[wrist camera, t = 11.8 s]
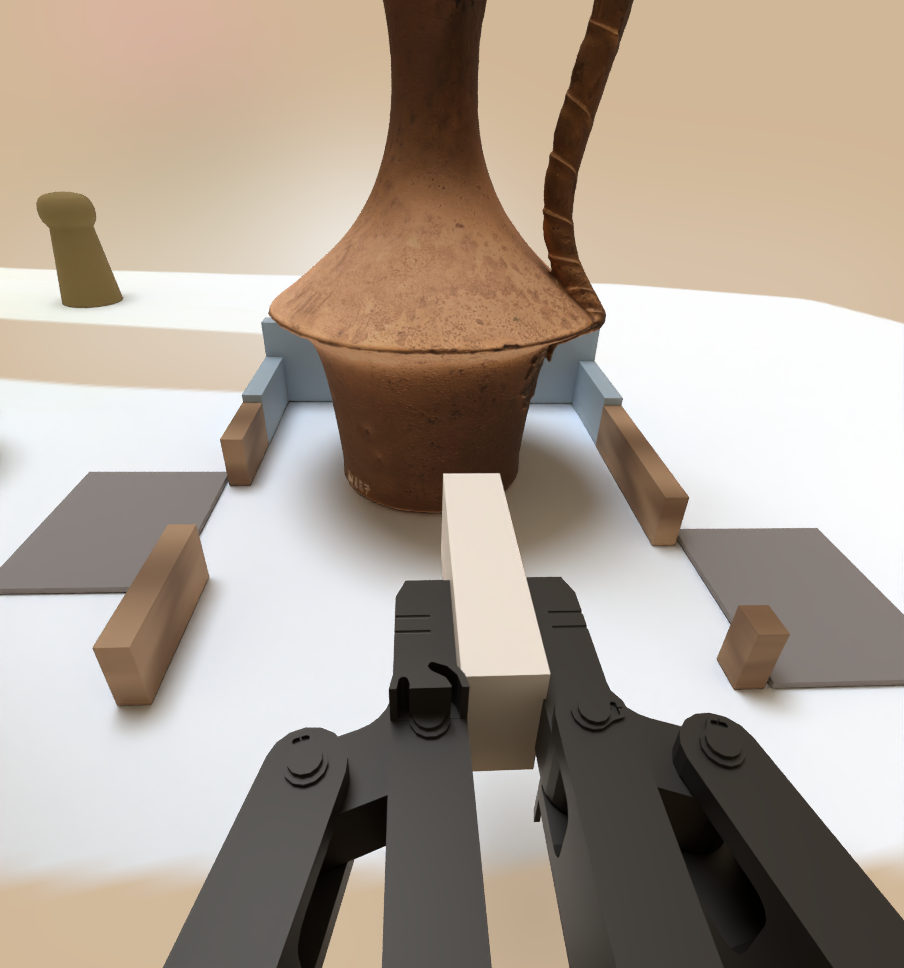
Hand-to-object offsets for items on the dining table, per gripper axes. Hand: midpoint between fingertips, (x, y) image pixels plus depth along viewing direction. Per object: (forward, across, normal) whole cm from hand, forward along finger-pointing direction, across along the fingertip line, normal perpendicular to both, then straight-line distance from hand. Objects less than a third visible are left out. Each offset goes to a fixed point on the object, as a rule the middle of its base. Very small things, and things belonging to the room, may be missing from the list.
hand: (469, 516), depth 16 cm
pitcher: (+18, 0, -9) cm, 21 cm away
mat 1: (+12, -16, -9) cm, 23 cm away
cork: (+56, -38, -9) cm, 68 cm away
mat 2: (+6, +16, -9) cm, 20 cm away
